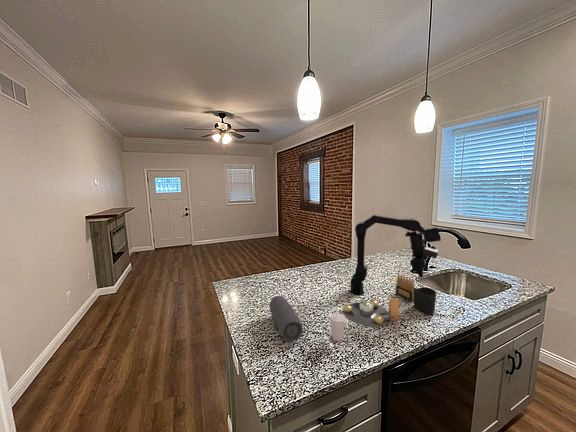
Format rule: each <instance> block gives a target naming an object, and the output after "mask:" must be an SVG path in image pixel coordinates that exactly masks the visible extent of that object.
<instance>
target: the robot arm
mask: <svg viewBox="0 0 576 432" xmlns="http://www.w3.org/2000/svg"><path fill="white" fill-rule="evenodd" d="M375 224H380V225H387V226H393V227H399V228H402V229H404V230H407V232H406V233H404V236H405V237H406V238H407V237H409V241H410V250H411V252H412V255H411V259H410V261H409V264H410V266H411V267H412V268H413V269H414V270H415V271H416V272H417V274H418V276H419V277H420V278H423V277H424V272H425V270H426V265H427V263H426V262H427V261H426V260H427V259H428V258H429V257H430V258H433V259H437V258H438V254H439V249H438V248H437V246H435V245H431V246H430V247H427V246H426V244H425V243H424V242H427V243H436V242H441V240H442V239H441V238H442V237H441V234H440V232H439V228H438V227H436V226H435V227H431V228H430V227H429V228H425V227H423V226H422V225H421V223H420V221H419V220H418V219H416V218H396V217H389V216H385V215H377V214H372V215H371V216H370V217H369V218H367V219H366V220H364V221H360V222H358V223H356V226H355V236H356V238H357V239H356V240H357V243H356V244H357V248H356V249H357V251H356V253H357V254H356V268H355V272H354V274H352V276H351V278H350V287H349V288H350V290H348V293H349V294H353V295H355V296H360V295H363V294H365V291H364V281H365V280H366V278H368V274H369V273H368V266H366V265H365V264H366V263H365V258H366V255H365V252H366V250H365V249H366V248H365V247H366V246H365V245H366V236H367V230H368V229H369V228H371V227H372V226H374V225H375Z"/></svg>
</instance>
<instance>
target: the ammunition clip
mask: <svg viewBox="0 0 576 432" xmlns="http://www.w3.org/2000/svg"><path fill="white" fill-rule="evenodd" d="M414 288H415V280H414V279H413V278H411V277H408V276H405V275H404V274H400V272H398V273H397V278H396V285H395V294H396V295H397V296H399V297H402V298H403V299H406V300H407V301H409V302H414Z"/></svg>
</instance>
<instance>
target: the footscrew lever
mask: <svg viewBox="0 0 576 432" xmlns="http://www.w3.org/2000/svg"><path fill="white" fill-rule="evenodd" d="M388 300H389V301H388V302H389V303H388V312H389V315H384V316H381V315H374V317H373V322H374V324H376V325H382V326H384V325H383V320H387V319H389V322H394V321H398V320H399V312H400V298H399V297H394V298H389V299H388Z"/></svg>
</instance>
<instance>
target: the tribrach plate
mask: <svg viewBox="0 0 576 432" xmlns="http://www.w3.org/2000/svg"><path fill="white" fill-rule="evenodd" d="M342 314H343V315H344V316H345V317H346V319H348V320H349V321H351V322H353V323H355V324H357V325H360V326H365V327H381V326H382V327H383V326H385V325H386V324H389V323H390V321H389V319H387V320H383V325H376V324H374V322H373V317H374V315H381V316H384V315H389V310H388V311H387V309H385V308H384V307H382V306H379V301H378V300H376V299H370V300H369V301H366V300H363V301H360V302H352V303H349V304H348V303H345V304H343V305H342Z"/></svg>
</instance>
